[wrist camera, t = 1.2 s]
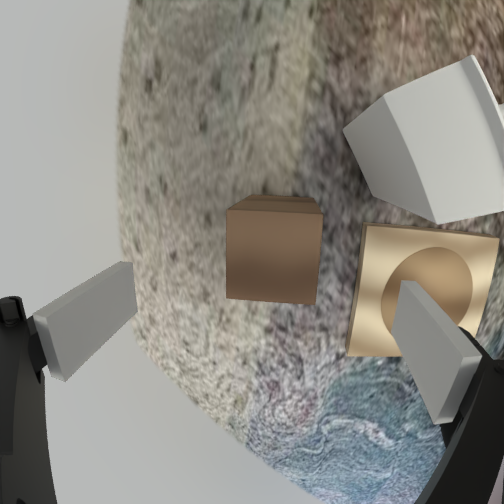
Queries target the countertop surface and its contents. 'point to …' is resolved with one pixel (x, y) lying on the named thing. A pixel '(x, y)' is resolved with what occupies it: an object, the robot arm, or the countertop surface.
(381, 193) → the milk carton
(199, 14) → the countertop surface
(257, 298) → the block
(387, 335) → the board
